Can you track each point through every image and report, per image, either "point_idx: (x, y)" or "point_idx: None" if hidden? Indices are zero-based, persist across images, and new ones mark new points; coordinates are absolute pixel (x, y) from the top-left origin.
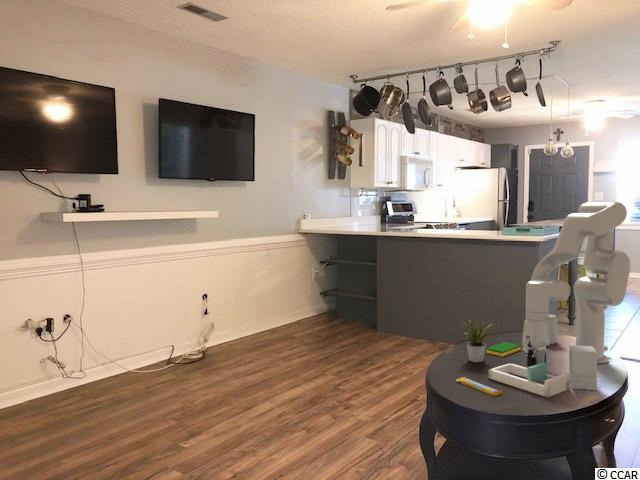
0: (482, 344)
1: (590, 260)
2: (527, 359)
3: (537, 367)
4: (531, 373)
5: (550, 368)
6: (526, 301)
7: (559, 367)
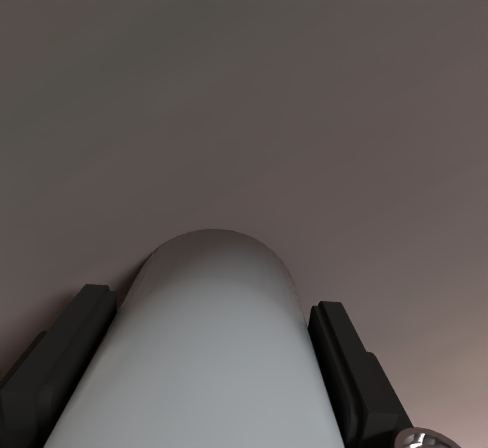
0: None
1: None
2: (42, 341)
3: None
4: None
5: (393, 356)
6: None
7: (485, 393)
